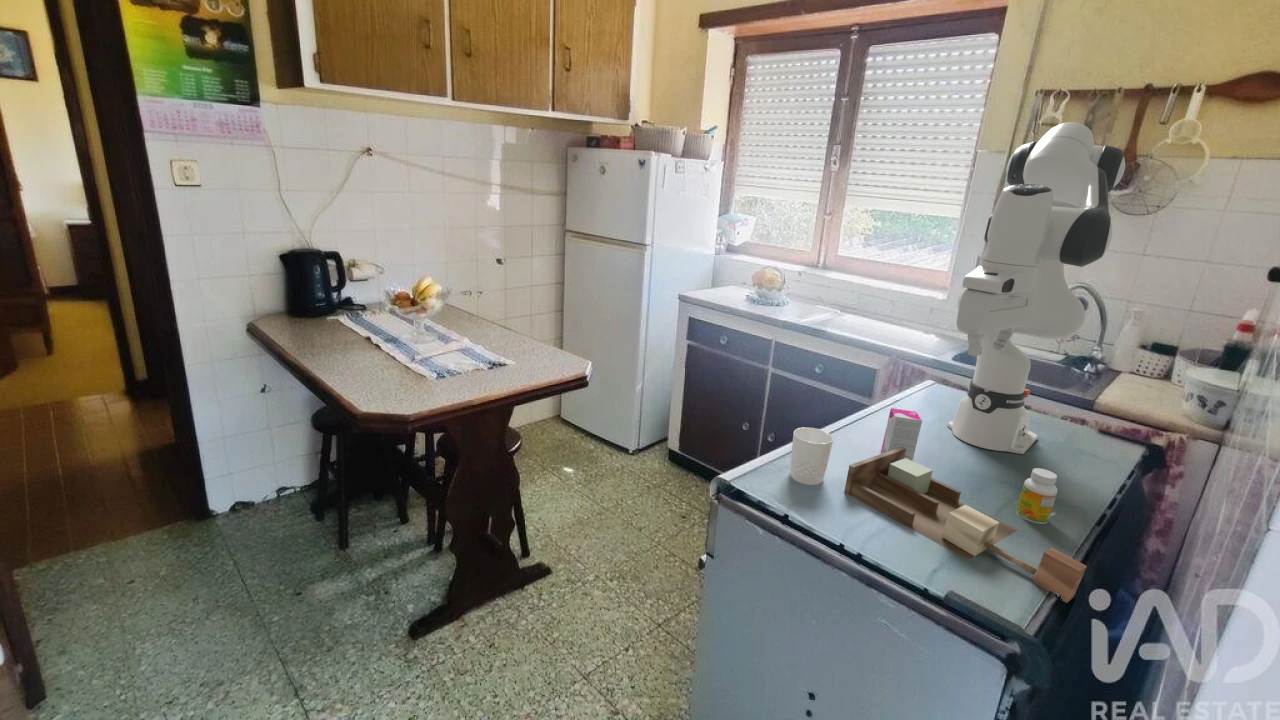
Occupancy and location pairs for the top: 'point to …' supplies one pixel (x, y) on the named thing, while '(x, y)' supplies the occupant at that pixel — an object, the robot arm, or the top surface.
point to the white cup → (810, 455)
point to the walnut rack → (909, 499)
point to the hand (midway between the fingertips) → (986, 352)
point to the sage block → (911, 474)
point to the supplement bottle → (1038, 496)
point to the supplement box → (902, 432)
